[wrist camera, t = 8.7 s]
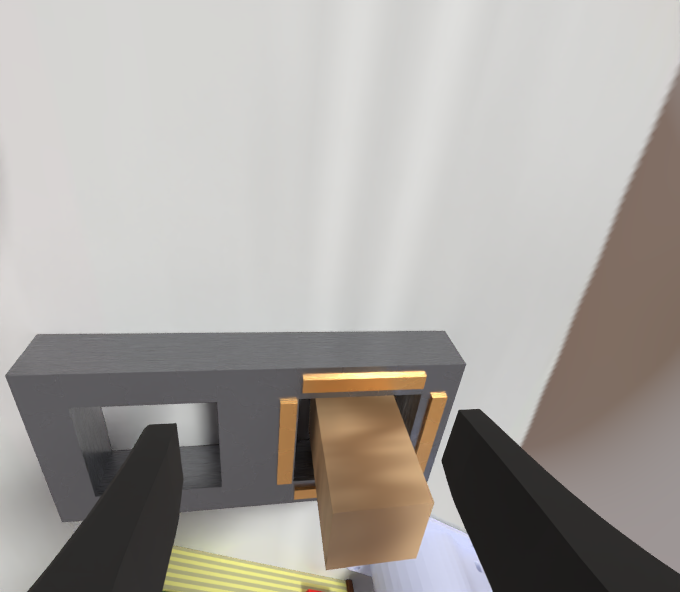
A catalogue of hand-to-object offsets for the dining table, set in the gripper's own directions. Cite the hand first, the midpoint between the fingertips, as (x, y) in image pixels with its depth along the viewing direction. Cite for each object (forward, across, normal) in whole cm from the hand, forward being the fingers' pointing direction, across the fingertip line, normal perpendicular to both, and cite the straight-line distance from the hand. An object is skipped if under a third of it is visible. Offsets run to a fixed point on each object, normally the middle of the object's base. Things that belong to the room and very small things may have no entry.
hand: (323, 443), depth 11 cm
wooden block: (+10, -3, +9) cm, 14 cm away
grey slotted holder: (+10, +2, +9) cm, 14 cm away
